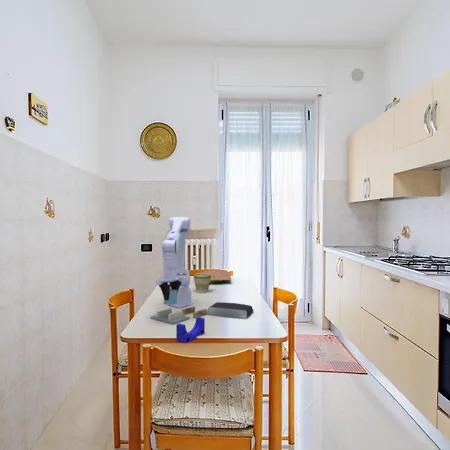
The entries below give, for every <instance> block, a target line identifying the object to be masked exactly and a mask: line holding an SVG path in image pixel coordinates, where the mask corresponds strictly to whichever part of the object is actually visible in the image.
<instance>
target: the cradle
mask: <svg viewBox="0 0 450 450" xmlns="http://www.w3.org/2000/svg"><path fill="white" fill-rule="evenodd" d="M181 310H182V311H183V316H186V315H190V314H192V318H193V319H196V318H197V317H201V318H202V317H203V316H207V315H206V313H207V310H208V308H203V309H199V310H196V306H195V305H192V306H189V307H185V308H183V309H181Z"/></svg>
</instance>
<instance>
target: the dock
mask: <svg viewBox="0 0 450 450" xmlns="http://www.w3.org/2000/svg"><path fill="white" fill-rule="evenodd" d="M149 319H152V320H154V321H158V322H163V323H166V324H170V325H173V326H174V325H176V324H179V323H180V324H181V323H182V322H184V321H188V320H190V319H191V317H190V316H186V315H183V311H182V309H180V310H179V311H175V312H173V308H172V307H167V308H165V309H164V308H163V309H161V310H158V311H156V314H155V315H150V318H149Z"/></svg>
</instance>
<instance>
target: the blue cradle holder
mask: <svg viewBox="0 0 450 450" xmlns="http://www.w3.org/2000/svg"><path fill="white" fill-rule="evenodd" d="M205 321H206V320H205V318H204V317H202V316H201V317H197V318H195V323H194V325H193V328H192V329H191V330H189V331H187V328H186V324H183V323H181V322H180V323H177V324H175V325H176V330H175V331H176V337H175V339H176V341H177V342H180V343H184V344H186V343H187V344H188V343H190V342H192V341H194V340H197V338H198V337H200V336H202V335H205V334H206V333H205V328H206V327H205V325H206V324H205Z"/></svg>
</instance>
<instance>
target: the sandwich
mask: <svg viewBox="0 0 450 450" xmlns="http://www.w3.org/2000/svg"><path fill="white" fill-rule="evenodd" d="M201 273H203V274H210V275H214V276H215V279H214V276H212V277H211V278H210V282H211V281H212V280H213V279H214V280H213V281H212V282H211V284H212V285H215V283H217V285H218V284H219V285H222V284H223V281H228V283H231V281H232V278H231V274H230V272H229V271H226V270H221V269H215V268H213V269H209V270H205V271H201V272H197V274H201Z"/></svg>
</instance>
